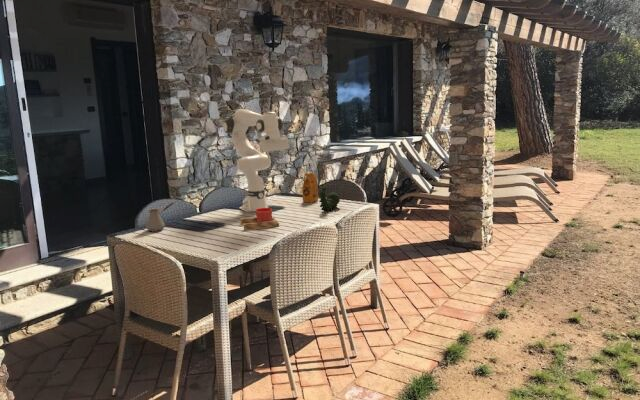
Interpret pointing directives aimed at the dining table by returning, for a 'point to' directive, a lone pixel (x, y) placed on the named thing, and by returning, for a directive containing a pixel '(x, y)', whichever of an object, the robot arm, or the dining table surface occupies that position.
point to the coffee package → (310, 188)
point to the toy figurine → (328, 200)
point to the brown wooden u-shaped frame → (258, 223)
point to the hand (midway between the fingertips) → (276, 157)
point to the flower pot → (263, 214)
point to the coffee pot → (155, 220)
